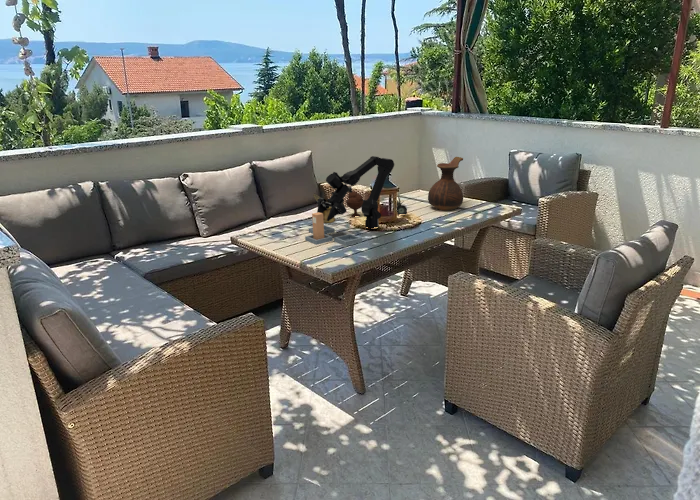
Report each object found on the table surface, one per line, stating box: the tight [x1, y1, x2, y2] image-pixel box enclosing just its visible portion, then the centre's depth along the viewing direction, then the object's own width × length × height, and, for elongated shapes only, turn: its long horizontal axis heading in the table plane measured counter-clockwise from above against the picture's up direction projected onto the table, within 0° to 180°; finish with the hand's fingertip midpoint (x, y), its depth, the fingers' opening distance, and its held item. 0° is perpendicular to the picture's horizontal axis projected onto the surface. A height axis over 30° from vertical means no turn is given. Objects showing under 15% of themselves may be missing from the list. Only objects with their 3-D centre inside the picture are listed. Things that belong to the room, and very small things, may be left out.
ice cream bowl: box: [345, 190, 365, 218], centre depth 326 cm, size 11×11×15 cm
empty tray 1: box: [307, 224, 336, 235], centre depth 296 cm, size 10×10×2 cm
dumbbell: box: [396, 196, 408, 215], centre depth 336 cm, size 9×22×10 cm, turn 175°
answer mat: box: [328, 232, 347, 240], centre depth 289 cm, size 9×9×1 cm
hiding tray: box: [304, 234, 334, 246], centre depth 282 cm, size 10×10×2 cm
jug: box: [427, 156, 464, 212], centre depth 335 cm, size 22×22×30 cm
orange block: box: [311, 212, 325, 240], centre depth 280 cm, size 4×4×14 cm
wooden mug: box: [312, 192, 336, 224], centre depth 315 cm, size 9×14×18 cm, turn 134°
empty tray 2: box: [333, 233, 363, 247], centre depth 278 cm, size 10×10×2 cm
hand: (322, 219), depth 280 cm, fingers open, 9 cm apart
